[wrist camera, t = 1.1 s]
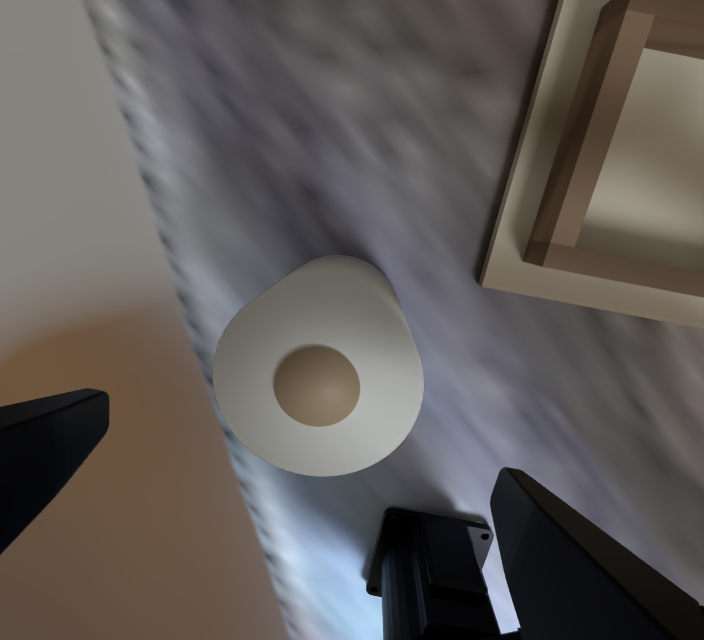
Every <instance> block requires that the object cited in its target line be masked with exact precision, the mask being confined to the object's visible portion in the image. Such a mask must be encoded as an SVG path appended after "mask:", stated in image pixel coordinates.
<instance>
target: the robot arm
mask: <svg viewBox="0 0 704 640" xmlns="http://www.w3.org/2000/svg"><path fill="white" fill-rule="evenodd" d="M108 427H109V395H108V394H107V393H106V392H105V391H101V390H96V389H90V388H86V389H82V390H76V391H72V392H67V393H63V394H58V395H53V396H49V397H44V398H40V399H35V400H30V401H25V402H21V403H16V404H12V405H7V406H2V407H0V555H1V554H2V553H3V552H4V551H5V550H6V549H7V547H8V546H9V545H10V544H11V543H12V542H13V541H14V540H15V539H16V538H17V537H18V536H19V535H20V534H21V533H22V532H23V531H24V530H25V528H26V527H27V526H28V525H29V524H30V523H31V522H32V521H33V520H34V519H35V518H36V517H37V516H38V515H39V514H40V513H41V512H42V510H44V508H45V507H46V506H47V505H48V504H49V503H50V502H51V501H52V500H53V498H54V497H56V495H57V494H58V493H59V492H60V491H61V489H62V488H63V487H64V486H65V485H66V484H67V482H68V481H69V480H70V478H71V477H72V476H73V475H74V473H75V472H76V471H77V470H78V468H79V467H80V466H81V465H82V463H83V462H84V461H85V460H86V458H87V457H88V456H89V455H90V453H91V452H92V451H93V449H94V448H95V447H96V446H97V445H98V443H99V442H100V441H101V439H102V438H103V437H104V435H105V434H106V432H107V430H108ZM490 507H491V512H492V517H493V522H494V527H495V532H496V536H497V541H498V546H499V551H500V555H501V560H502V565H503V569H504V573H505V578H506V581H507V585H508V588H509V592H510V595H511V598H512V601H513V604H514V608H515V611H516V614H517V617H518V620H519V624H520V627H521V628H517V629H518V631H514V632H509V633H504V634H501V632H500V629H499V626H498V623H497V619H496V616H495V613H494V610H493V607H492V604H491V601H490V598H489V595H488V588H487V585H486V582H485V579H484V576H483V573H482V568H483V565H484V562H485V560H486V557H487V554H488V551H489V549H490V546H491V543H492V541H493V537H494V535H493V532H492V530H491V527H490V526H488V525H486V524H481V523H476V522H470V521H465V520H460V519H454V518H449V517H443V516H438V515H432V514H427V513H422V512H416V511H411V510H405V509H400V508H394V507H390V508H388V509H386V510H385V512H384V515H383V519H382V523H381V527H380V530H379V534H378V538H377V542H376V546H375V550H374V554H373V558H372V562H371V566H370V569H369V573H368V577H367V581H366V591H367V593H368V594H370V595H373V596H378V597H382V614H383V640H704V606H700V605H699V603H698V602H697V601H696V600H695V599H694V598H692V597H691V596H690V595H688V594H687V593H686V592H684V591H683V590H682V589H680V588H679V587H678V586H676V585H675V584H674V583H672V582H671V581H670V580H668V579H667V578H666V577H664V576H663V575H662V574H660V573H659V572H658V571H656V570H655V569H654V568H652V567H651V566H649V565H648V564H647V563H645V562H644V561H643V560H641V559H640V558H639V557H637V556H636V555H635V554H633V553H632V552H631V551H629V550H628V549H627V548H625V547H624V546H623V545H621V544H620V543H619V542H617V541H616V540H615V539H613V538H612V537H611V536H609V535H608V534H607V533H605V532H604V531H603V530H601V529H600V528H599V527H597V526H596V525H595V524H593V523H592V522H591V521H589V520H588V519H587V518H585V517H584V516H583V515H581V514H580V513H578V512H577V511H576V510H574V509H573V508H572V507H570V506H569V505H568V504H566V503H565V502H564V501H562V500H561V499H560V498H558V497H557V496H556V495H554V494H553V493H552V492H550V491H549V490H548V489H546V488H545V487H544V486H542V485H541V484H540V483H538V482H537V481H536V480H534V479H533V478H532V477H530V476H529V475H528V474H526V473H525V472H524V471H522V470H519V469H513V468H508V467H504V468H502V469H501V470H500V472H499V475H498V478H497V480H496V483H495V486H494V489H493V492H492V495H491V499H490ZM391 516H395V517H394V518H391ZM483 533H486V534H483Z"/></svg>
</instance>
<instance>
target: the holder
mask: <svg viewBox="0 0 704 640" xmlns="http://www.w3.org/2000/svg"><path fill="white" fill-rule="evenodd" d="M478 285H480V286H481V287H486V288H491V289H497V290H502V291H507V292H512V293H518V294H523V295H528V296H533V297H539V298H544V299H549V300H555V301H560V302H565V303H570V304H576V305H581V306H586V307H591V308H597V309H602V310H607V311H612V312H618V313H623V314H628V315H633V316H639V317H644V318H649V319H654V320H660V321H665V322H670V323H675V324H681V325H686V326H691V327H696V328H702V329H704V0H559V1H558V5H557V8H556V12H555V15H554V19H553V22H552V26H551V29H550V33H549V36H548V40H547V43H546V47H545V50H544V54H543V57H542V61H541V64H540V68H539V72H538V75H537V79H536V82H535V86H534V89H533V93H532V96H531V100H530V103H529V107H528V110H527V114H526V117H525V121H524V124H523V128H522V131H521V135H520V138H519V142H518V146H517V149H516V153H515V156H514V160H513V163H512V167H511V170H510V174H509V177H508V181H507V184H506V188H505V191H504V195H503V198H502V202H501V205H500V209H499V212H498V216H497V220H496V223H495V227H494V230H493V234H492V237H491V241H490V244H489V248H488V251H487V255H486V258H485V262H484V265H483V269H482V272H481V276H480V279H479V283H478Z"/></svg>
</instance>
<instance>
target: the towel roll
mask: <svg viewBox="0 0 704 640" xmlns="http://www.w3.org/2000/svg"><path fill="white" fill-rule="evenodd" d="M213 387H214V394H215V397H216V401H217V405H218V407H219V410H220V412H221V414H222V417H223V418H224V420H225V422H226V424H227V425H228V427H229V428H230V430H231V431H232V432H233V434H234V435H235V436H236V438H237V439H238V440H239V441H240V442H241V443H242V444H243V445H244V446H245V447H246V448H248V449H249V450H250V451H251V452H252V453H254V454H255V455H256V456H258V457H260V458H261V459H263V460H264V461H266V462H268V463H270V464H272V465H274V466H276V467H278V468H281V469H284V470H286V471H289V472H293V473H297V474H301V475H308V476H325V477H328V476H338V475H344V474H349V473H353V472H356V471H359V470H362V469H365V468H367V467H369V466H371V465H373V464H375V463H377V462H379V461H380V460H382V459H383V458H385V457H386V456H388V455H389V454H390V453H391V452H392V451H394V450H395V449H396V448H397V447H398V446H399V445H400V444H401V443H402V441H403V440H404V439H405V438H406V436H407V435H408V433H409V432H410V431H411V429H412V427H413V425H414V423H415V421H416V419H417V417H418V414H419V411H420V408H421V404H422V399H423V393H424V376H423V367H422V363H421V359H420V355H419V353H418V350H417V347H416V345H415V342H414V339H413V337H412V334H411V332H410V329H409V326H408V324H407V321H406V318H405V316H404V313H403V310H402V308H401V305H400V303H399V300H398V297H397V295H396V292H395V290H394V288H393V286H392V285H391V283H390V282H389V280H388V279H387V278H386V276H385V275H384V274H383V273H382V272H381V271H380V270H378V269H377V268H376V267H374V266H373V265H371V264H370V263H368V262H366V261H364V260H362V259H359V258H356V257H352V256H348V255H327V256H322V257H318V258H315V259H313V260H311V261H308V262H307V263H305V264H303V265H302V266H300V267H299V268H297V269H296V270H295V271H293V272H292V273H290V274H289V275H287V276H286V277H285V278H283V279H282V280H280V281H279V282H278V283H276V284H275V285H273V286H272V287H271V288H269V289H268V290H266V291H265V292H263V293H262V294H261V295H259V296H258V297H256V298H255V299H254V300H252V301H251V302H250V303H248V304H247V305H246V306H245V307H244V308H242V309H241V310H240V311H239V312H238V313H237V314H236V316H235V317H234V318H233V319H232V320H231V321H230V323H229V324H228V326H227V327H226V329H225V330H224V332H223V334H222V336H221V338H220V340H219V343H218V346H217V349H216V352H215V356H214V362H213Z"/></svg>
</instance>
